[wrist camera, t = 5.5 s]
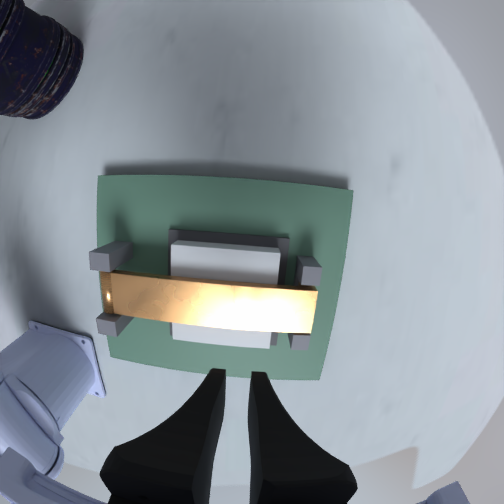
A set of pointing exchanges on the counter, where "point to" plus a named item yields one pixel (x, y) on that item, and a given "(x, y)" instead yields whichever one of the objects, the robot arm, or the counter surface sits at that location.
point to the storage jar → (34, 61)
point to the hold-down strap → (209, 301)
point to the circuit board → (234, 214)
